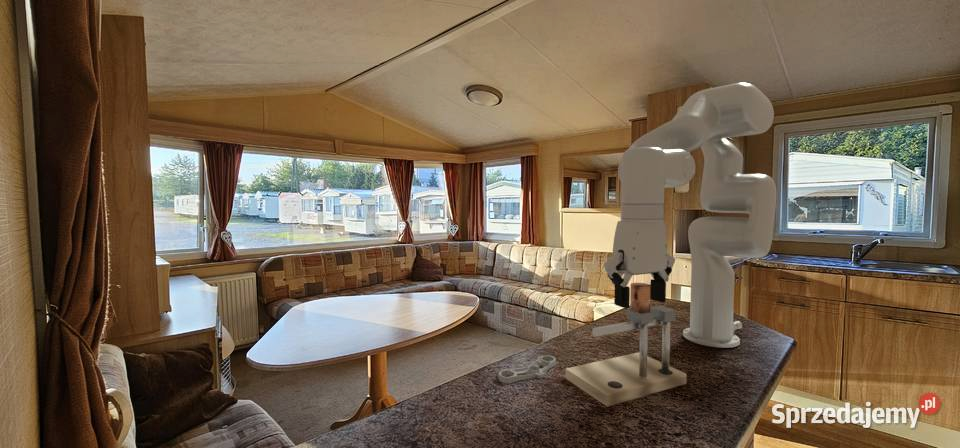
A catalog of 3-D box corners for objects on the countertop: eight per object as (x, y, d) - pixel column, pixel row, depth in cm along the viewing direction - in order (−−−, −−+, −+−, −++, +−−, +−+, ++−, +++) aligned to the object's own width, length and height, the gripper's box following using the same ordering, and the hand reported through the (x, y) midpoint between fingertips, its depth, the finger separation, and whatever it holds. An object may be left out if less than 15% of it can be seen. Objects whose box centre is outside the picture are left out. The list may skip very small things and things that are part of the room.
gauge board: (638, 360, 87) (638, 351, 87) (686, 383, 76) (686, 373, 76) (565, 378, 79) (565, 368, 79) (607, 406, 68) (607, 395, 68)
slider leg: (638, 368, 78) (640, 282, 77) (653, 375, 75) (655, 285, 74) (624, 371, 77) (626, 283, 75) (639, 379, 73) (641, 287, 72)
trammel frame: (660, 364, 81) (662, 305, 80) (675, 371, 77) (677, 309, 76) (589, 382, 73) (590, 317, 72) (603, 390, 70) (604, 322, 69)
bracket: (489, 364, 83) (550, 352, 88) (489, 373, 83) (550, 361, 88) (504, 379, 76) (569, 365, 81) (504, 389, 76) (569, 374, 81)
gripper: (658, 212, 81) (656, 294, 82) (592, 214, 73) (591, 304, 75) (691, 213, 74) (688, 303, 75) (621, 215, 67) (620, 314, 68)
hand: (640, 303), depth 75 cm, fingers open, 8 cm apart
